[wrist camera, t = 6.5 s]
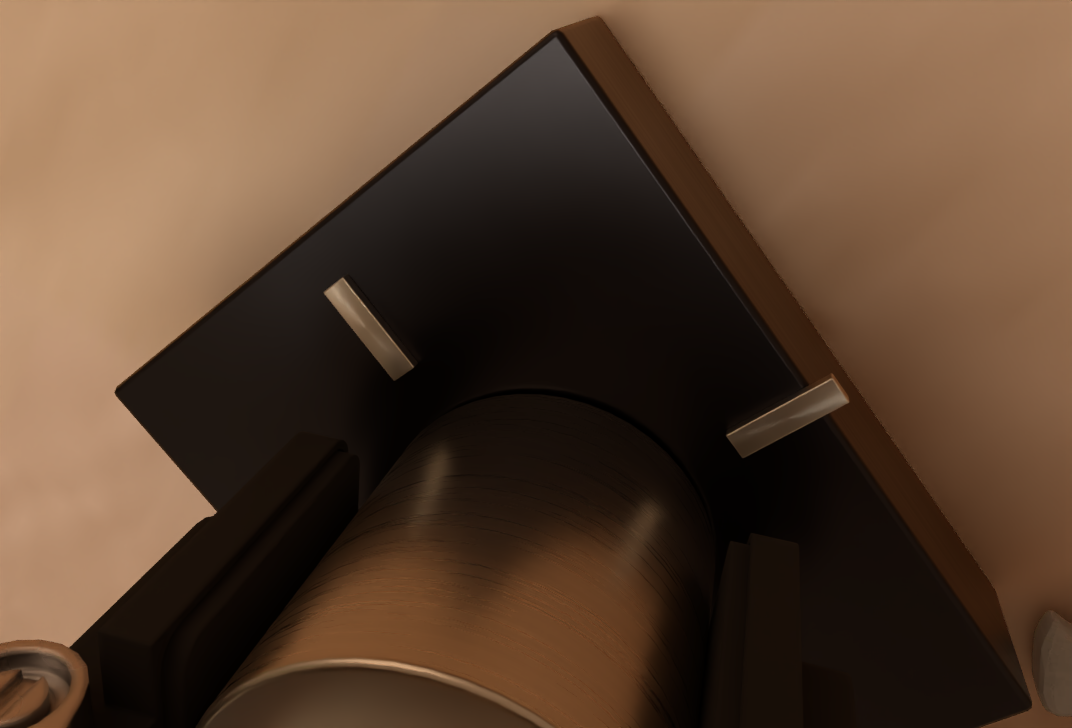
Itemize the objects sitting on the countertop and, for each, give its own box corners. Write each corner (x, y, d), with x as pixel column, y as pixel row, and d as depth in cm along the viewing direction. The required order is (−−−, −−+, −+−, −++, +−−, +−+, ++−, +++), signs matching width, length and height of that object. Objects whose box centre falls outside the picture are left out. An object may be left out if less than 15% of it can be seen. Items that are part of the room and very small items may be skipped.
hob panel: (1017, 581, 14) (1065, 712, 12) (557, 768, 17) (521, 898, 15) (617, -3, 12) (576, 7, 10) (194, 338, 16) (88, 407, 13)
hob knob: (747, 431, 11) (720, 783, 6) (683, 713, 13) (625, 1148, 8) (394, 359, 12) (138, 627, 7) (379, 635, 14) (168, 994, 9)
